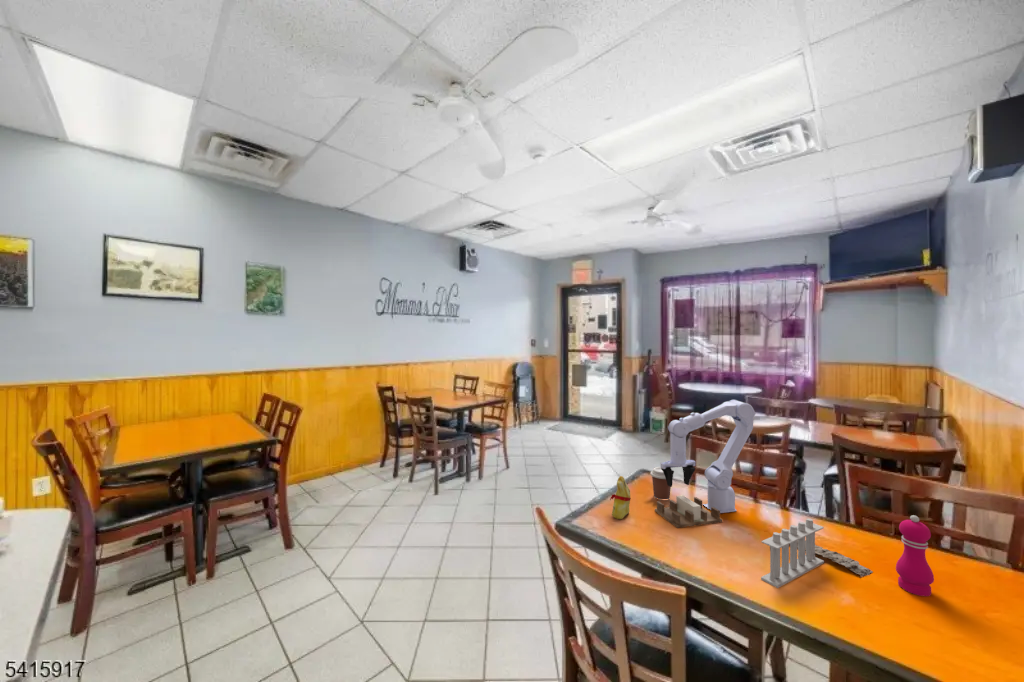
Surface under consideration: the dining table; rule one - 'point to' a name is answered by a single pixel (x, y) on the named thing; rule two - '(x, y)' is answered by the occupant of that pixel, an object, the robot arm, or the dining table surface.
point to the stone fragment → (842, 560)
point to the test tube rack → (792, 553)
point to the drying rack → (687, 514)
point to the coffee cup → (660, 484)
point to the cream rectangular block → (688, 506)
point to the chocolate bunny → (621, 499)
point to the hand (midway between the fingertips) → (678, 485)
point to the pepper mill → (914, 558)
